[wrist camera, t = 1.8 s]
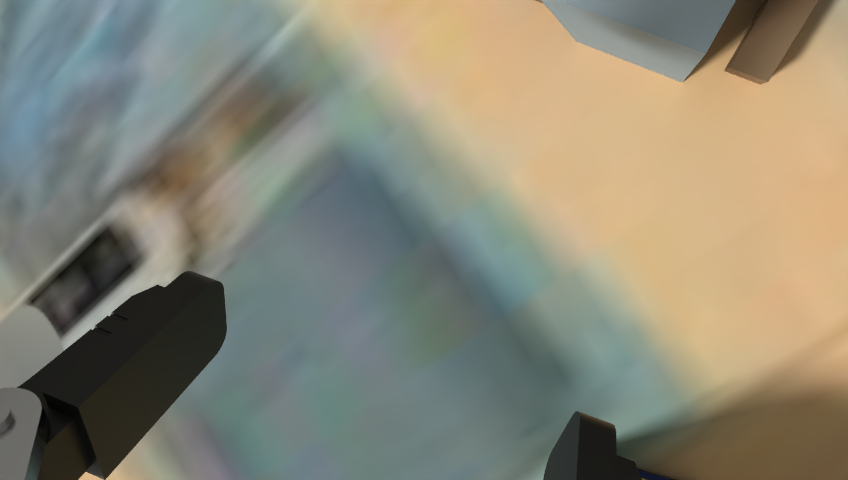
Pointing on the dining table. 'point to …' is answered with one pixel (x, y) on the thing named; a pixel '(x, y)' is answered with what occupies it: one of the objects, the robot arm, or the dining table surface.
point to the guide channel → (768, 38)
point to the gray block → (646, 30)
